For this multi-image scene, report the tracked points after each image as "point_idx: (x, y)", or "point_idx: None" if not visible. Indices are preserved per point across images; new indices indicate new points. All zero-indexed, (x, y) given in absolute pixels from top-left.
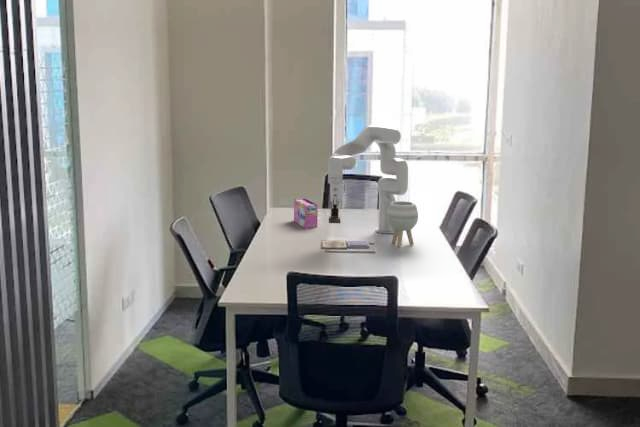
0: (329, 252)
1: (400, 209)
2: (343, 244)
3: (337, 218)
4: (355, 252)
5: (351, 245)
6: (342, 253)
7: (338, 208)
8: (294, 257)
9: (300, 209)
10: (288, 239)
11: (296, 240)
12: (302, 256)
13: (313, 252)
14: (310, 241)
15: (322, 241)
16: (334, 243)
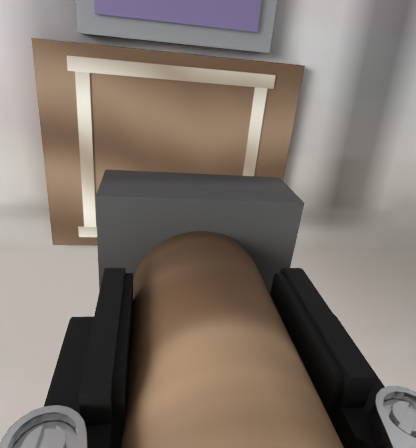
0: (361, 200)
1: None
2: (190, 85)
3: (272, 247)
4: (409, 7)
5: (259, 17)
6: (408, 117)
7: (260, 358)
8: (412, 356)
9: None
10: (15, 413)
11: (35, 377)
12: (406, 328)
13: (340, 284)
14: (51, 307)
15: (90, 241)
16: (153, 158)
